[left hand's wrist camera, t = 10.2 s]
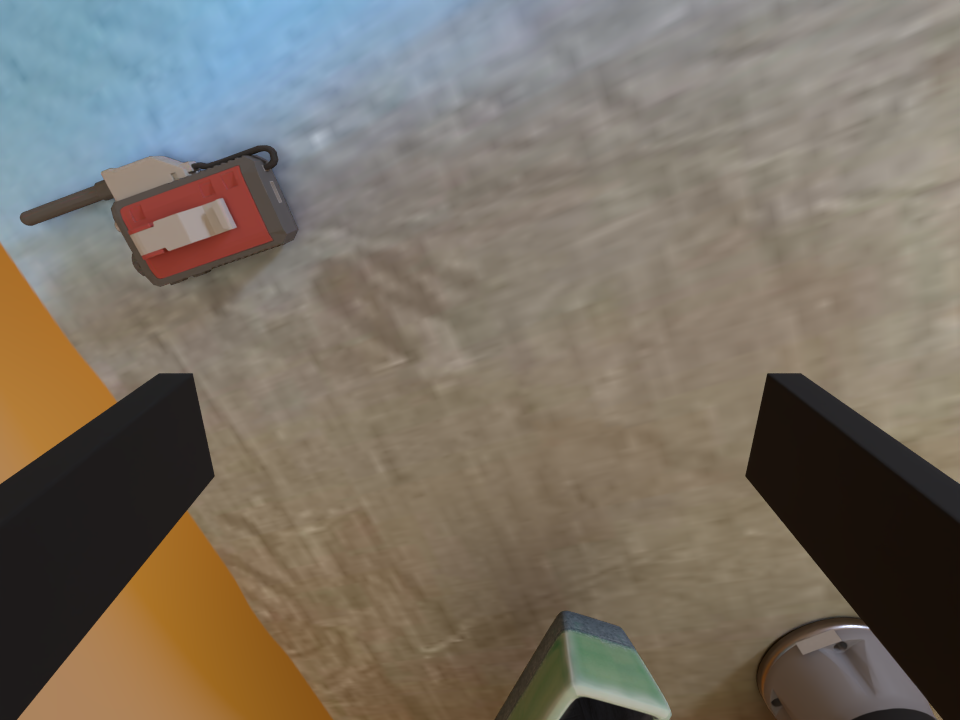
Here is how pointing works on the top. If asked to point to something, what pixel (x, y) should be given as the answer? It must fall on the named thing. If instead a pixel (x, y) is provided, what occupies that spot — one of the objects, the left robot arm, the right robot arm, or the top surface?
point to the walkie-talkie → (188, 212)
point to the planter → (585, 677)
